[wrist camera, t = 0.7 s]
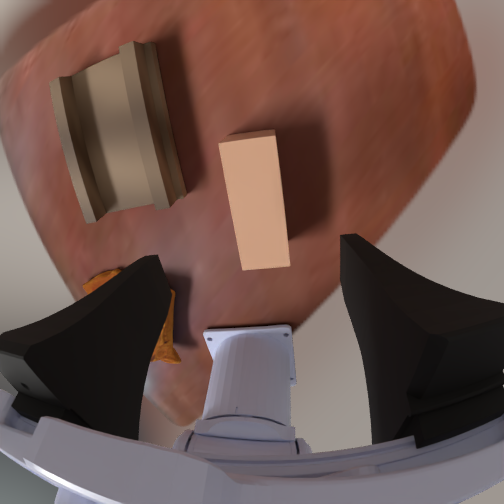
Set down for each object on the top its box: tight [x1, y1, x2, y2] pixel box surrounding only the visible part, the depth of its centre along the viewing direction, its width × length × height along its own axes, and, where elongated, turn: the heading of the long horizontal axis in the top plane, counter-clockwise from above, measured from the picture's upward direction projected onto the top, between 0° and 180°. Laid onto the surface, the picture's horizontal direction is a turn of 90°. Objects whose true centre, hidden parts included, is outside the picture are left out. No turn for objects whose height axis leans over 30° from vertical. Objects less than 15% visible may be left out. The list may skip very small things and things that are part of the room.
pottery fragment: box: [83, 269, 181, 364], centre depth 25 cm, size 10×5×10 cm
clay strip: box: [218, 129, 290, 270], centre depth 18 cm, size 8×3×4 cm, turn 9°
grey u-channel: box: [49, 41, 187, 224], centre depth 16 cm, size 11×8×2 cm
